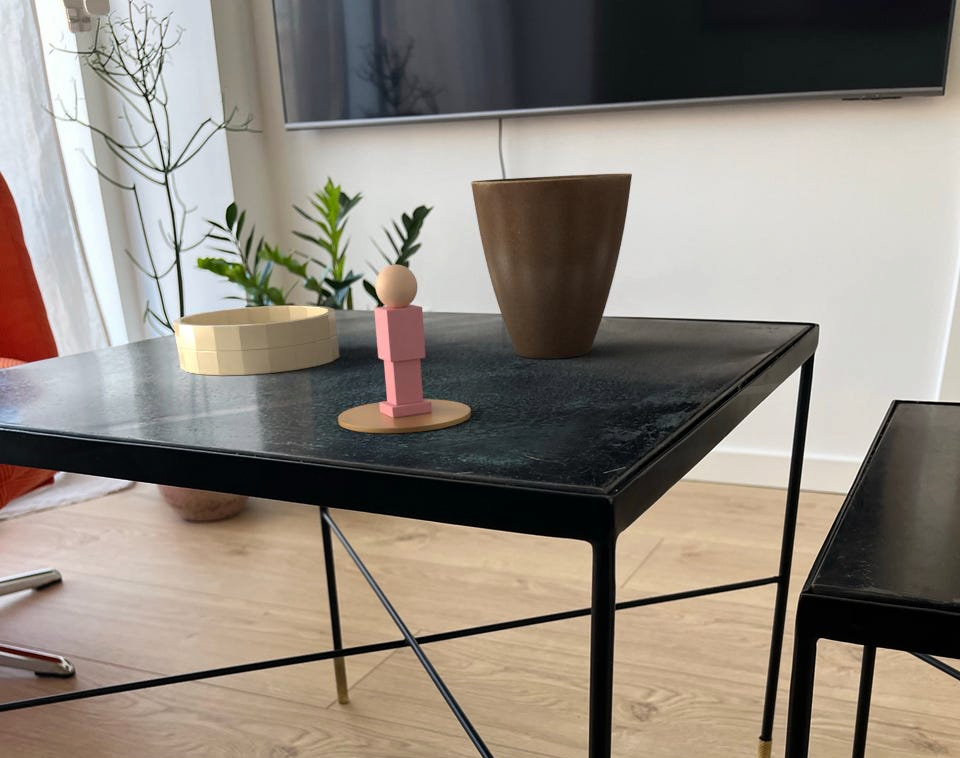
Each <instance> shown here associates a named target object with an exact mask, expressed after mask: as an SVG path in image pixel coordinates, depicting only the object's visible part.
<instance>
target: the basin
mask: <svg viewBox="0 0 960 758" xmlns="http://www.w3.org/2000/svg"><path fill="white" fill-rule="evenodd" d="M336 319H337V317H336V311H335V309H334V308H332V307H330V306H329V307H328V306H322V305H311V304H310V305H302V304H301V305H298V304H296V305H295V304H285V305H283V304H282V305H262V306H247V307H237V308H236V307H235V308H226V309H218V310H209V311H204V312H199V313H194V314H187V315H184V316H181V317H178V318H175V319H174V321H173V322H172V324H173V329H174V336H175V342H176V348H177V354H178V360H179V367H180V369H181V370H183V372H186V373H190V374H194V375H195V374H196V375H201V376H202V375H203V376H250V375H265V374H266V375H267V374H275V373H283V372H291V371H297V370H298V371H299V370H304V369H309V368H313V367H319V366H323V365H326V364H329V363H332V362H335V360H337V359H339V358H340V348H339V341H338V340H339V339H338V328H337V320H336Z"/></svg>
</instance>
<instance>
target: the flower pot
mask: <svg viewBox="0 0 960 758" xmlns="http://www.w3.org/2000/svg"><path fill="white" fill-rule="evenodd" d="M632 176H633V174H632V173H598V174H597V173H596V174H571V175H551V176H533V177H516V178H497V179H495V178H494V179H484V180H482V179H481V180H472V181H471V182H470V186H471V190H472V196H473V197H472V198H473V203H474V209H475V215H476V220H477V226H478V230H479V235H480V240H481V245H482V250H483V256H484V258H485V263H486V267H487V271H488V275H489V279H490V282H491V286H492V288H493V292H494V295H495V298H496V302H497V306H498V308H499V311H500V314H501V317H502V320H503V323H504V326H505V329H506V331H507V334H508V336H509V339H510V342H511V345H512V346H513V349H514V351H515V353H516V355H517V356H519V357H523V358H529V359H537V360H538V359H540V360H555V359H568V358H575V357H580V356H584V355H587V354H589V353H590V352H591V350H592V347H593V344H594V342H595V339H596V336H597V333H598V331H599V328H600V325H601V322H602V319H603V316H604V313H605V309H606V307H607V304H608V300H609V296H610V292H611V289H612V285H613V281H614V278H615V274H616V270H617V265H618V261H619V256H620V251H621V246H622V242H623V238H624V237H623V236H624V232H625V227H626V220H627V213H628V208H629V199H630V193H631V185H632Z"/></svg>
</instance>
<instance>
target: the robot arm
mask: <svg viewBox="0 0 960 758" xmlns="http://www.w3.org/2000/svg"><path fill="white" fill-rule="evenodd" d="M60 2H61V4H62V9H63V11H64V15H65V21H66V25H67V29H68V32H70V33H71V34H74V35H87V34H88V33H89V32H90V31H91V30H92V27H93V26H92V25H93V23H92V21H91V18H105V17H106V16H108V15H109V14H110V12H111V6H110V0H60Z"/></svg>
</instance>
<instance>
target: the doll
mask: <svg viewBox="0 0 960 758" xmlns="http://www.w3.org/2000/svg"><path fill="white" fill-rule="evenodd" d="M375 292H376V295H377V297H378V299H379V301H380V302H381V303H382V304H383V305H384V306H377V307H374V309H373V310H374V322H375V333H376V335H375V336H376V346H377V357H378V359H380V360H383V366H384V378H385V391H386V400H383V401H379V405H380V412H381V413H383V414H385V415H388V416H390V417H392V418H397V417H404V416H411V415H417V414H424V413H430V412H432V404H431V402H430V401H427V400H425V399H426V398H424V394H423V392H424V391H423V378H422V363H421V359H426V343H425V328H424V327H425V326H424V314H423V312H424V311H423V306H420V305H416V304H412V303H413V302H414V300H415V299H416V297H417V294H418V281H417V277H416V276H415V274H414V273H413V271H412V270H411V269H410V268H408V267H407V266H405V265H402V264H390V265H387V266H385V267H384V268H383V269H381V271H380V272H379V273H378V275H377V276H376V279H375Z"/></svg>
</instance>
